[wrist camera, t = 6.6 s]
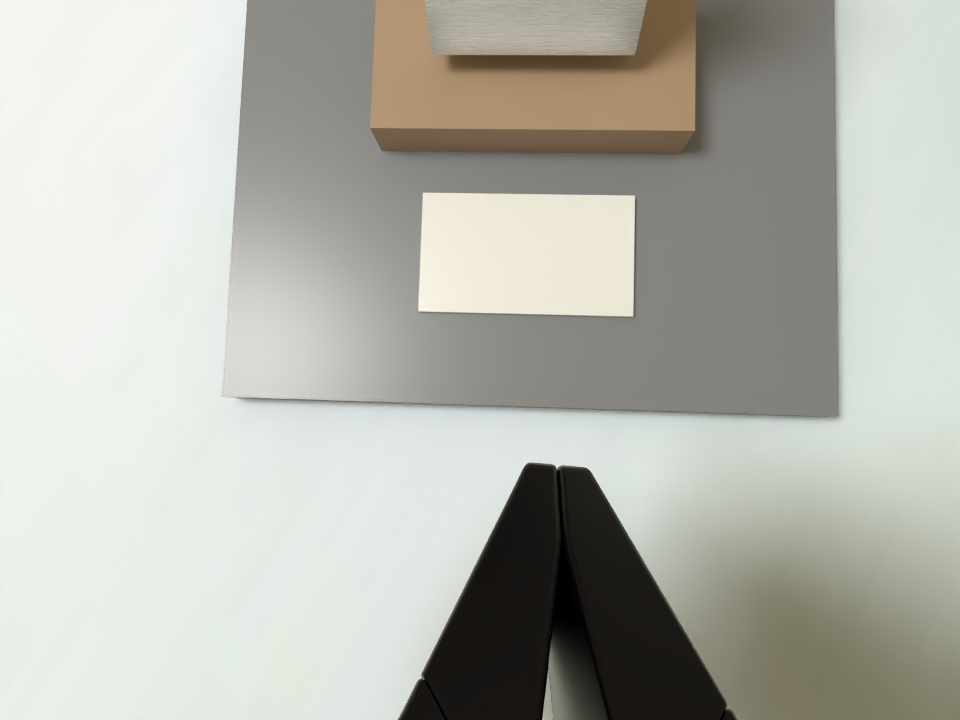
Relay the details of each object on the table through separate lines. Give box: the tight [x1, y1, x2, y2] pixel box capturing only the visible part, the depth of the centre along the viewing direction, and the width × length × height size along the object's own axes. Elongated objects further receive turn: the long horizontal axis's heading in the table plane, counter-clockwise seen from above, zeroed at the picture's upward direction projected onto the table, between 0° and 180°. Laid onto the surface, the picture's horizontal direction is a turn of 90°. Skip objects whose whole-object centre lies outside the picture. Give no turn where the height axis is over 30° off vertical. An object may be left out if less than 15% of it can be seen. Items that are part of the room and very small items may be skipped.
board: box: [222, 0, 838, 416], centre depth 22 cm, size 18×20×3 cm
